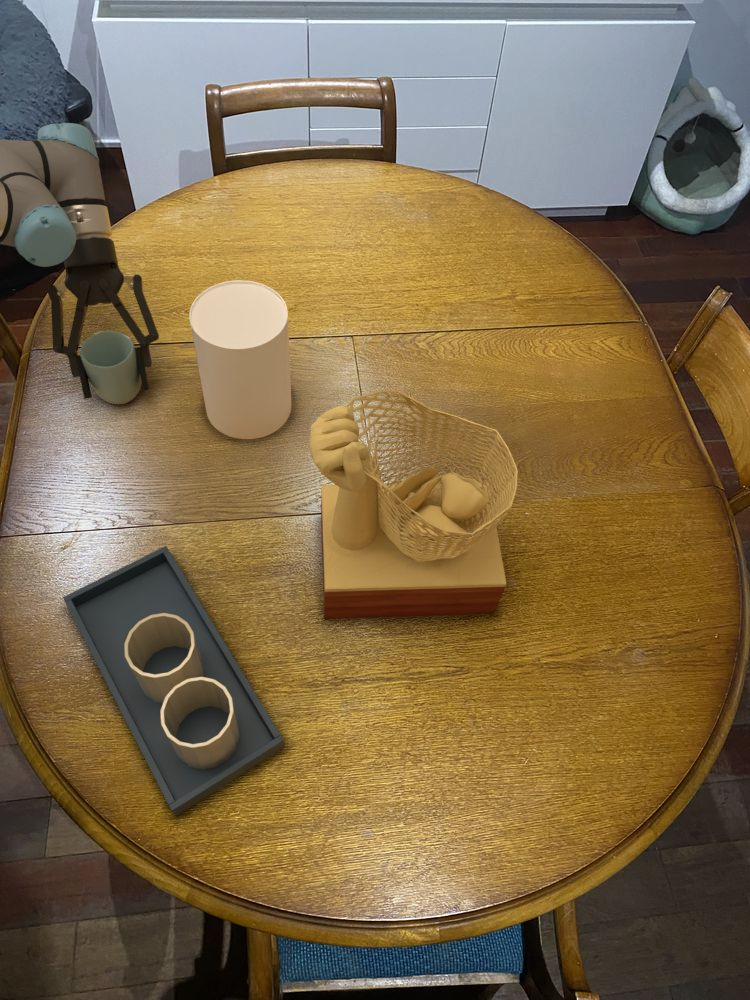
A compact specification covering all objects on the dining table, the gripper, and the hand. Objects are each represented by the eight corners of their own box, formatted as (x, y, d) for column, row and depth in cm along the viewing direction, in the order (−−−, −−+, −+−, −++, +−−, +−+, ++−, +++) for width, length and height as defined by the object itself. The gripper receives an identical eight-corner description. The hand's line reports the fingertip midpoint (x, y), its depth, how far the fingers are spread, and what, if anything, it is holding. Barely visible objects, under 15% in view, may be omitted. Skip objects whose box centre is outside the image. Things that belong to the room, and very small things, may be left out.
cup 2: (130, 666, 101) (113, 634, 92) (186, 635, 104) (175, 601, 95) (157, 718, 97) (142, 690, 89) (215, 684, 100) (206, 654, 92)
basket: (311, 623, 106) (310, 473, 76) (309, 511, 115) (307, 340, 86) (493, 617, 108) (559, 469, 79) (475, 507, 118) (529, 340, 88)
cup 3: (162, 728, 97) (148, 700, 88) (221, 693, 100) (212, 664, 91) (192, 784, 93) (180, 761, 85) (252, 747, 96) (245, 721, 88)
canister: (201, 439, 121) (183, 347, 105) (210, 373, 129) (195, 278, 112) (289, 441, 122) (285, 350, 106) (293, 376, 130) (290, 282, 113)
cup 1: (85, 401, 124) (69, 357, 116) (113, 368, 128) (99, 323, 120) (128, 418, 123) (114, 374, 114) (155, 384, 127) (143, 339, 118)
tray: (69, 608, 105) (62, 597, 102) (169, 557, 110) (165, 545, 107) (176, 817, 91) (171, 811, 88) (284, 748, 96) (284, 740, 94)
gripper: (6, 244, 110) (42, 405, 115) (157, 228, 114) (185, 385, 119) (17, 250, 117) (51, 402, 122) (159, 235, 121) (186, 383, 126)
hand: (117, 393), depth 121 cm, fingers closed on cup 1, 8 cm apart
